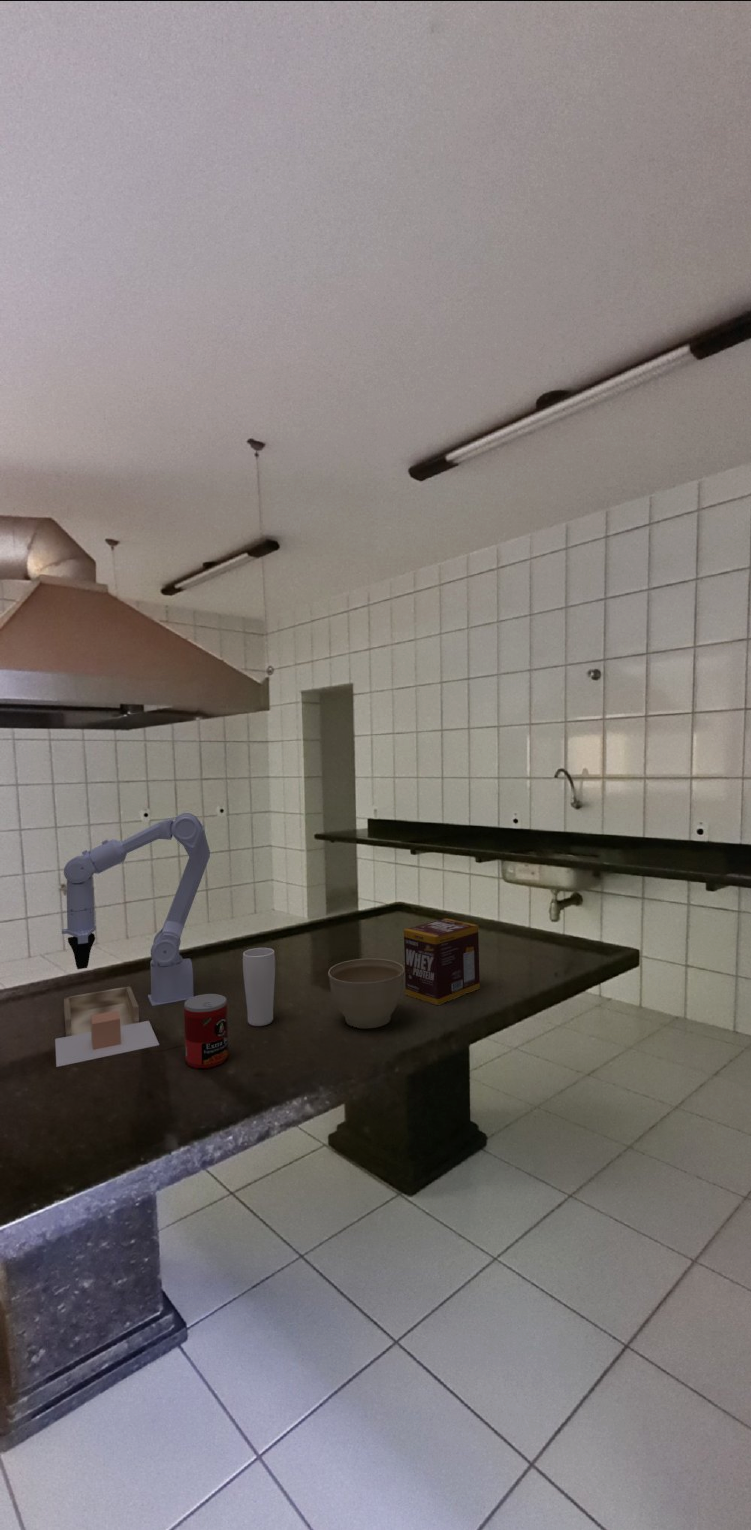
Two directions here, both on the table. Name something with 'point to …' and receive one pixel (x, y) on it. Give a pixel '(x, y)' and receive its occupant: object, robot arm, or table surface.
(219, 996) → the canned food
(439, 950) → the supplement box
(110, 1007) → the open box
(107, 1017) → the block
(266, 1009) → the drinking glass
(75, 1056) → the mat
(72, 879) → the robot arm
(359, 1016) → the planter bowl
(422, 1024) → the table surface
